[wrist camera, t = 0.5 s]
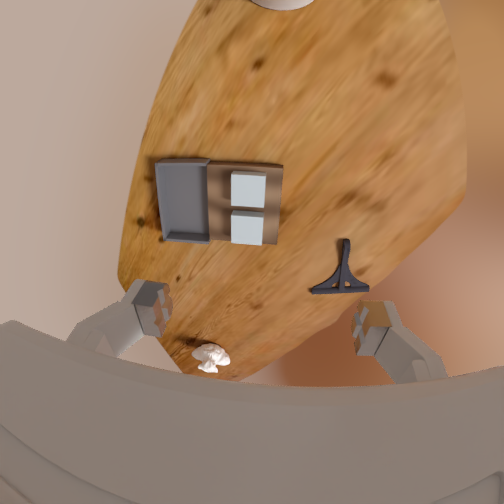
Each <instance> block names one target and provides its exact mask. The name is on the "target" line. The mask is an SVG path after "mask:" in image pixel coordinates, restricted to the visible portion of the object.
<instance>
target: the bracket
mask: <svg viewBox="0 0 504 504" xmlns="http://www.w3.org/2000/svg"><path fill="white" fill-rule="evenodd" d="M349 252H350V240H349V239H347V240H343V249H342V260H341V264H340V265H339V267H338V269H337V271H336V272H335V274H334V275H333V276H332V277H331V278H329V279H328V280H327V281H325V282H323V283H321V284H319V285H317V286H314V288H312V294H333V293H354V292H369V285H367V284H365V283H363V282H360V281H359V280H357V279H356V278H355V277H354V276H353V275H352V274H351V272H350V270H349V266H348V264H347V263H348V258H349ZM345 281H347V282H349V283H350V284H351V286H345ZM336 282H339V285H338V287H332V285H333V284H334V283H336Z"/></svg>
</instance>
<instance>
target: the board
mask: <svg viewBox="0 0 504 504" xmlns="http://www.w3.org/2000/svg"><path fill="white" fill-rule="evenodd" d="M233 171H248V172H264V173H266V188H265V204H264V208H260V207H246V206H231V174H232V172H233ZM282 179H283V165H273V164H258V163H239V162H209V163H208V164H207V188H208V215H209V236H210V239H212V240H225V241H231V214H232V212H233V210H238V211H252V212H264V222H263V239H262V244H274V245H277V238H278V227H279V215H280V204H281V191H282Z"/></svg>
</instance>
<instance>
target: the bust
mask: <svg viewBox="0 0 504 504" xmlns="http://www.w3.org/2000/svg"><path fill="white" fill-rule="evenodd" d="M192 356H193V357H194V358H195V359H197V360H201V361H203V362H202V364H200V365H199V366H198V368H199V369H202V370H203V371H205V372H209V373H210V372H215V373H217V372H218V369H217V368H216V367H215V365H216V364H218V365H228V364H229V363H230V359H229V356H228V354H227V353H225V351H224V349H223V348H221V347H220V346H218V345H216V344H211V343H209V344H203V345H202V346H201V347H198V348H197V349H195V350H194V351H193V352H192Z"/></svg>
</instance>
